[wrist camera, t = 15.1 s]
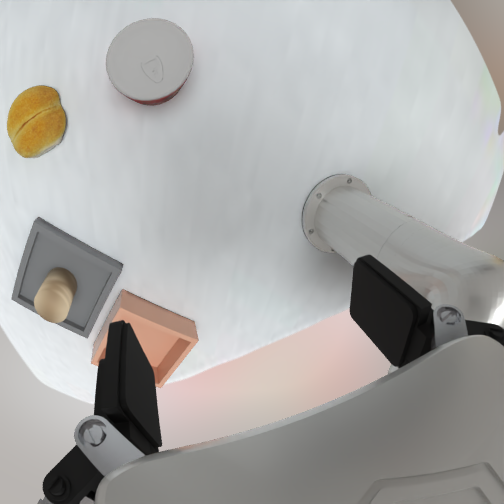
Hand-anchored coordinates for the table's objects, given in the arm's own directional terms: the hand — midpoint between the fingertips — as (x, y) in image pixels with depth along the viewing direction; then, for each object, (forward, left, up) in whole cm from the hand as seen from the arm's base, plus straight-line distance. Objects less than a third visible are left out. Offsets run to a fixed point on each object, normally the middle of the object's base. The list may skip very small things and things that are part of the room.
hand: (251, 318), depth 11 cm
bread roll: (+21, +4, -29) cm, 36 cm away
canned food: (+11, -8, -28) cm, 32 cm away
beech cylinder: (+8, +22, -28) cm, 36 cm away
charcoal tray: (+8, +22, -28) cm, 37 cm away
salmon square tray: (-7, +25, -28) cm, 38 cm away
